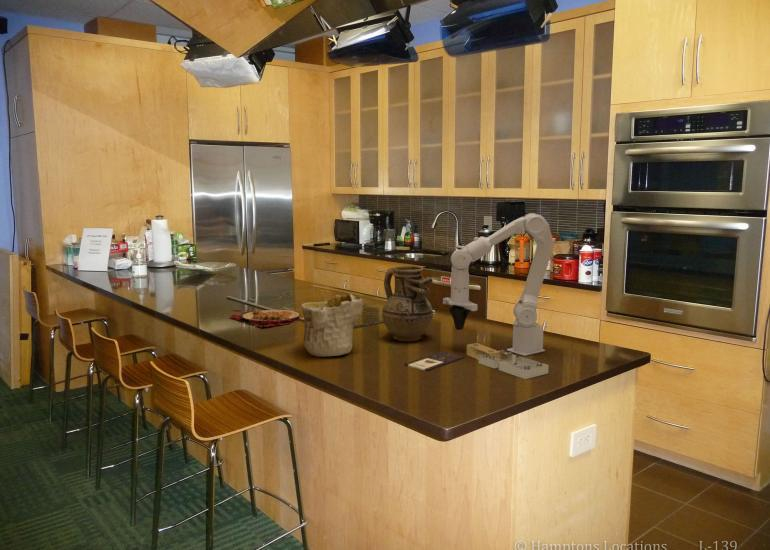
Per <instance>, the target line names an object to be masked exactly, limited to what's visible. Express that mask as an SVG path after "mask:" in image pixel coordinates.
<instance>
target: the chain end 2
mask: <svg viewBox="0 0 770 550" xmlns="http://www.w3.org/2000/svg"><path fill="white" fill-rule="evenodd" d="M498 371H501V372H503V373H506V374H509V375H512V376H514V377H517V378H521V379H523V380H529V379H533V378H536V377H540V376H543V375H544V376H545V375H547V374H549V364H548V363H547V364H546V363H544V362H543V363H542V362H540V361H536V360H533V359H530V358H526V357H525V356H518V357H516V363H515V364H512V363H509V362H506V361H500V362H499V363H498Z"/></svg>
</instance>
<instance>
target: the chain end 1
mask: <svg viewBox="0 0 770 550" xmlns="http://www.w3.org/2000/svg"><path fill="white" fill-rule="evenodd" d="M498 351H499V352H500V361H506V362H509V363H512V364H515V365H516V364H517V355H516V354H515V353H514V354H513V352H510V351H506V350H505V349H499V350H498ZM478 364H480V365H482V366H485V367H489V368H492V369H497V368H498V369H499V363H498V359H496V358H494V356H487V354H482V355H479V360H478Z"/></svg>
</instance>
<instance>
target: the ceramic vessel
mask: <svg viewBox="0 0 770 550" xmlns="http://www.w3.org/2000/svg"><path fill="white" fill-rule="evenodd" d="M363 302H364V301H363V299H362V297H359V296H355V295H353V294H352V293H348V294H347V295H345V294H342V295H340V294H336V295H334V296H332V297H331V298H329V299H328V300H325V301H319V302H318V301H317V302H311V301H310V302H305V303H302V304H301V305H300V308H301V311H302V314H303V315H304V316H303V315H302V316H303V317H304V319H303V321H304V322H303V326H304V332H303V338H302V339H303V341H302V343H303V346H304V347H305V350H306V351H307V352H308V353H309V354H310V355H311V356H314V357H317V358H323V357H324V358H325V357H337V356H342V355H346V354H349V353H351V351H352V349H353V340H354V339H353V335H354V333H353V331H354V323H356V322H357V321H358V317H359V316H360V315H361V314H362V313H363V309H364V303H363Z"/></svg>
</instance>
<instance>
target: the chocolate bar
mask: <svg viewBox="0 0 770 550" xmlns="http://www.w3.org/2000/svg"><path fill="white" fill-rule="evenodd" d="M464 359H466V358H465V356H464V355H459V354H455V353H451V352H450V353H449V352H445V351H438V352H436V353H433V354H430V355H428V356H424V357H422V358H418V359H415V360H412V361H408V362H406V363H404V366H406V367H409V368H413V369H417V370H421V371H425V372H430V371H433V370H435V369H439V368H441V367H445V366H447V365H450V364H453V363H456V362H457V361H461V360H464Z"/></svg>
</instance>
